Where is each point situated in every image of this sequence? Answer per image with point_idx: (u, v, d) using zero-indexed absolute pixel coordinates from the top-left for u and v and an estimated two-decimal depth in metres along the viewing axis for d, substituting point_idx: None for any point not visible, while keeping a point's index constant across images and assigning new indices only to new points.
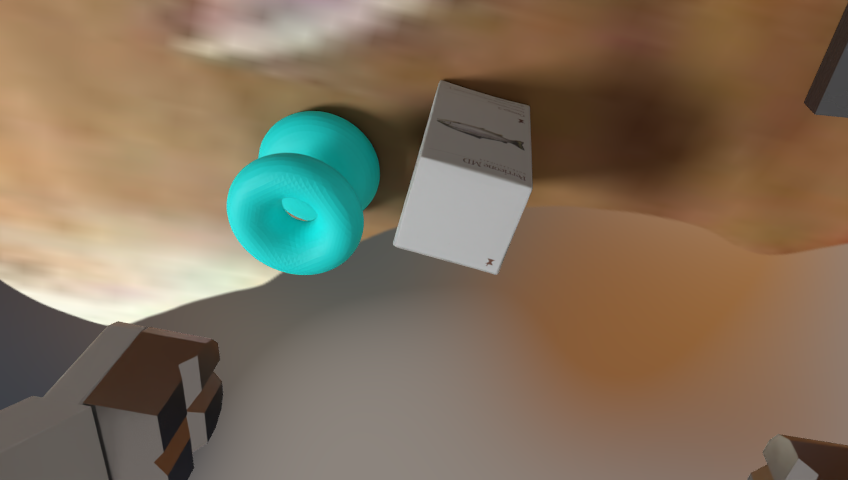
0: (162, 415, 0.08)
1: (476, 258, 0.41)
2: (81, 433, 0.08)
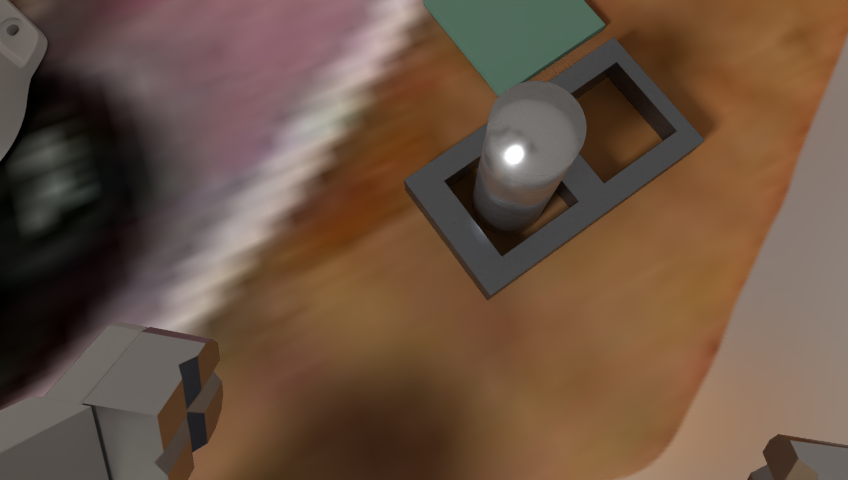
0: (162, 415, 0.08)
1: None
2: (81, 433, 0.08)
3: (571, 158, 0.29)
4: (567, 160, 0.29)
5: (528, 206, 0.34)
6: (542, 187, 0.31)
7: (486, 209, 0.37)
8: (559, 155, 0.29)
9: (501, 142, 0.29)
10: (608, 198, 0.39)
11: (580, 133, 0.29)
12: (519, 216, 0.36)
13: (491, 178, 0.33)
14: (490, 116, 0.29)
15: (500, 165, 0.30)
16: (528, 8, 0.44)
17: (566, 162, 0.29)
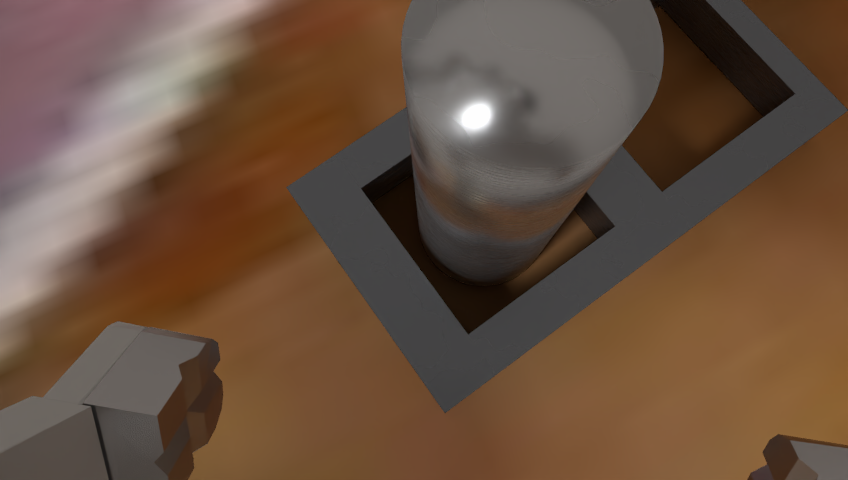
0: (162, 415, 0.08)
1: None
2: (81, 433, 0.08)
3: (625, 130, 0.11)
4: (614, 135, 0.11)
5: (516, 244, 0.16)
6: (546, 206, 0.13)
7: (436, 244, 0.19)
8: (592, 122, 0.11)
9: (435, 89, 0.11)
10: (671, 220, 0.20)
11: (648, 64, 0.11)
12: (499, 260, 0.18)
13: (428, 184, 0.14)
14: (407, 22, 0.11)
15: (437, 153, 0.12)
16: None
17: (612, 141, 0.11)
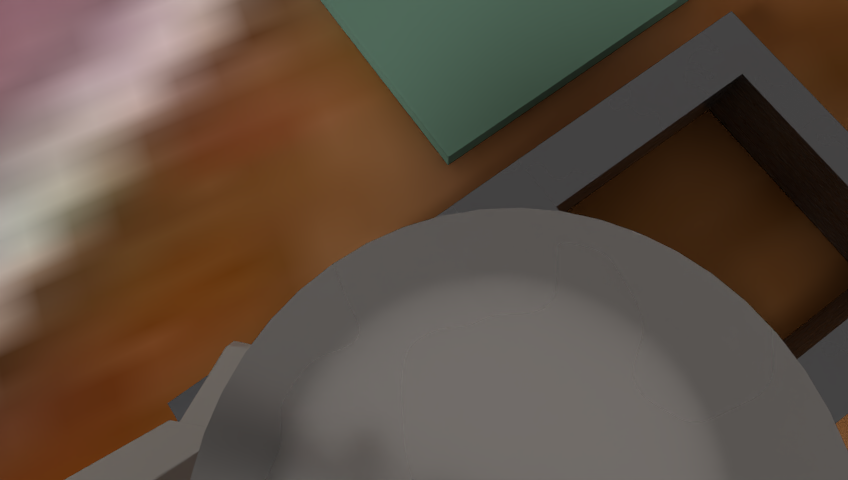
0: None
1: None
2: None
3: None
4: None
5: None
6: None
7: None
8: None
9: None
10: None
11: None
12: None
13: None
14: (202, 464, 0.04)
15: None
16: None
17: None
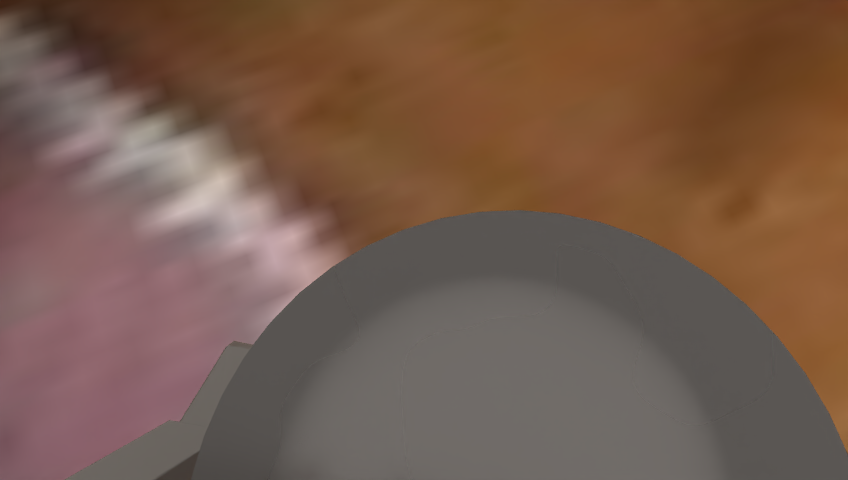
0: None
1: None
2: None
3: None
4: None
5: None
6: None
7: None
8: None
9: None
10: None
11: None
12: None
13: None
14: (202, 467, 0.04)
15: None
16: None
17: None
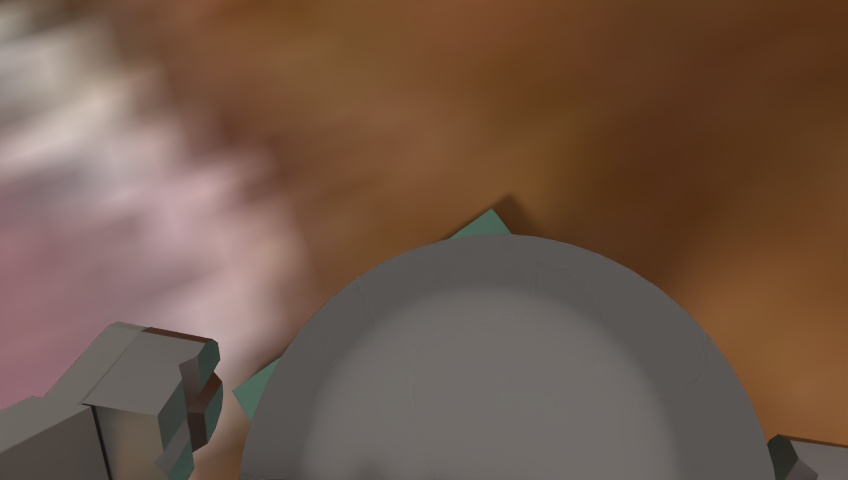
0: (162, 415, 0.08)
1: None
2: (81, 433, 0.08)
3: None
4: None
5: None
6: None
7: None
8: None
9: None
10: None
11: None
12: None
13: None
14: (252, 438, 0.05)
15: None
16: None
17: None
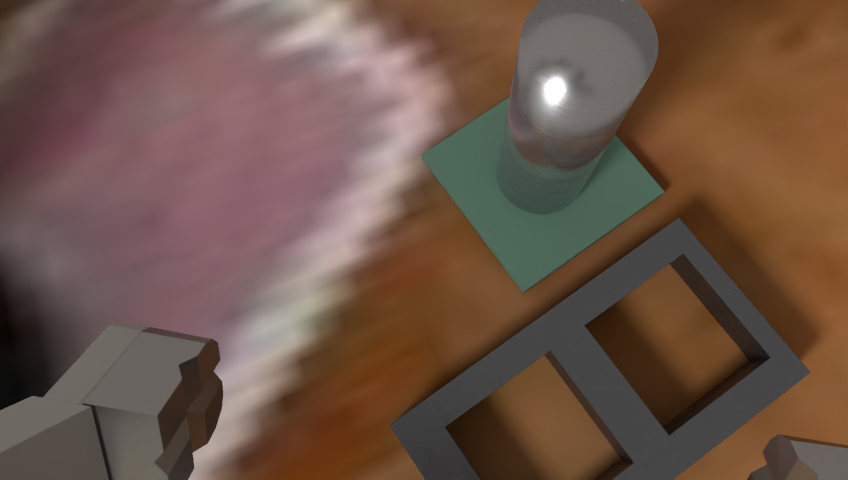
0: (162, 415, 0.08)
1: None
2: (81, 433, 0.08)
3: (638, 85, 0.21)
4: (632, 88, 0.21)
5: (571, 167, 0.26)
6: (593, 133, 0.23)
7: (515, 177, 0.29)
8: (621, 81, 0.21)
9: (539, 64, 0.21)
10: (676, 458, 0.28)
11: (650, 52, 0.21)
12: (558, 184, 0.28)
13: (523, 125, 0.24)
14: (524, 30, 0.21)
15: (537, 100, 0.22)
16: None
17: (631, 90, 0.21)
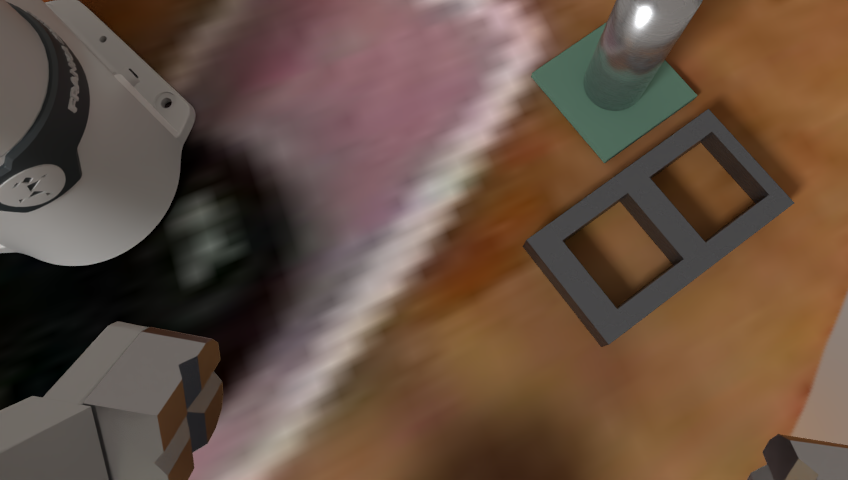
0: (162, 415, 0.08)
1: None
2: (81, 433, 0.08)
3: (694, 9, 0.36)
4: (690, 11, 0.36)
5: (645, 69, 0.42)
6: (664, 42, 0.39)
7: (602, 81, 0.45)
8: (684, 7, 0.36)
9: None
10: (710, 256, 0.44)
11: None
12: (633, 83, 0.44)
13: (619, 39, 0.40)
14: None
15: (633, 20, 0.38)
16: None
17: (690, 12, 0.36)
